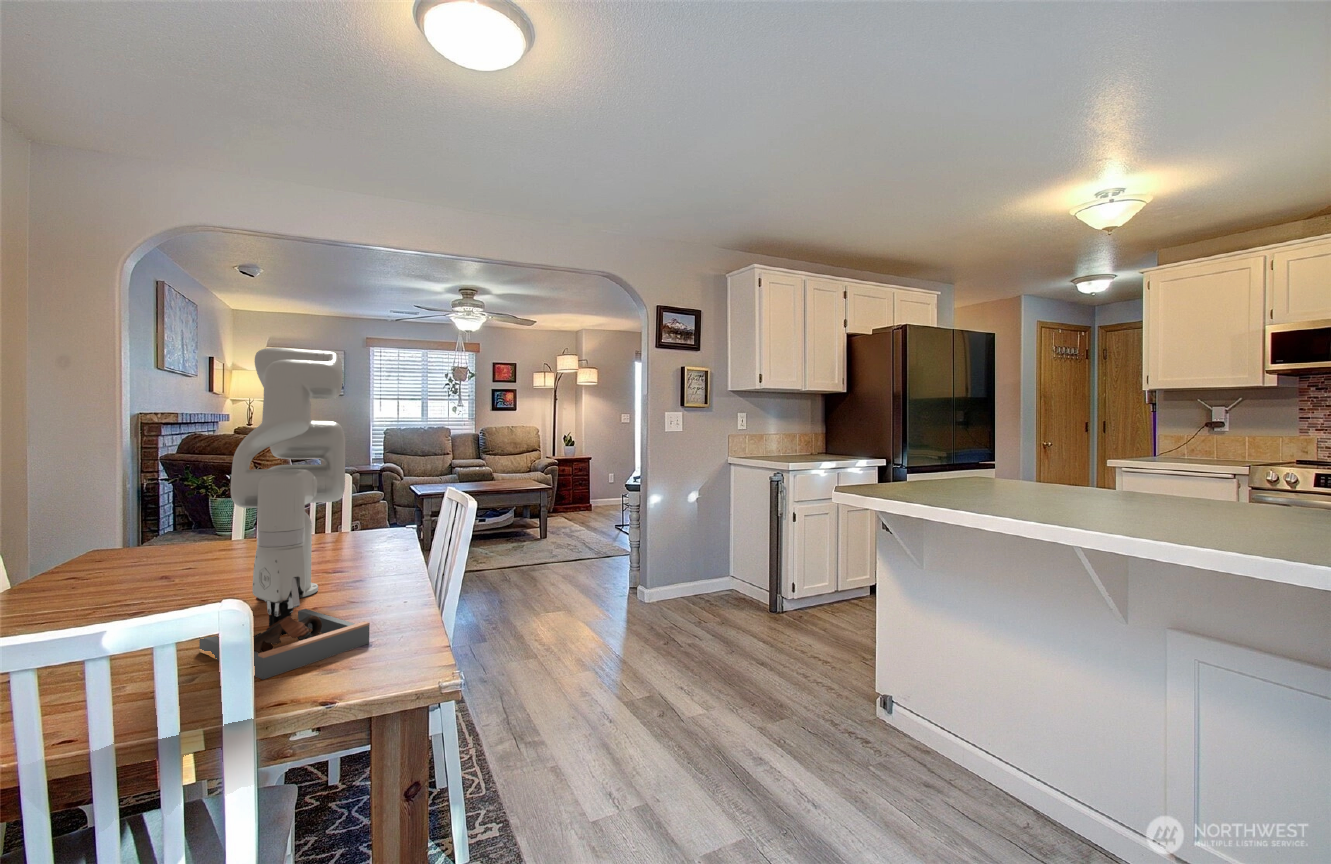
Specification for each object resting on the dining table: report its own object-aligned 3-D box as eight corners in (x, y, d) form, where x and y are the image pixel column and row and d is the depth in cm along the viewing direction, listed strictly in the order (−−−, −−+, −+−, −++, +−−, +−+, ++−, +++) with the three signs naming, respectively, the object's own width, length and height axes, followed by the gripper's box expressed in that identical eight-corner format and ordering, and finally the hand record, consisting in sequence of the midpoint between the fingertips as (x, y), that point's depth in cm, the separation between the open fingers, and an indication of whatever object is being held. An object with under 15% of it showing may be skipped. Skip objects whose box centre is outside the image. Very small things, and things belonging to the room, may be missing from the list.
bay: (199, 652, 108) (199, 630, 108) (305, 622, 124) (305, 604, 124) (263, 679, 97) (263, 655, 97) (369, 643, 114) (369, 622, 114)
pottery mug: (288, 674, 101) (261, 634, 100) (257, 688, 104) (231, 649, 104) (343, 633, 112) (319, 597, 111) (313, 647, 116) (290, 612, 115)
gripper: (238, 537, 112) (237, 633, 112) (282, 546, 105) (281, 649, 105) (280, 531, 119) (279, 621, 119) (324, 539, 111) (322, 636, 112)
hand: (280, 634), depth 112 cm, fingers closed
